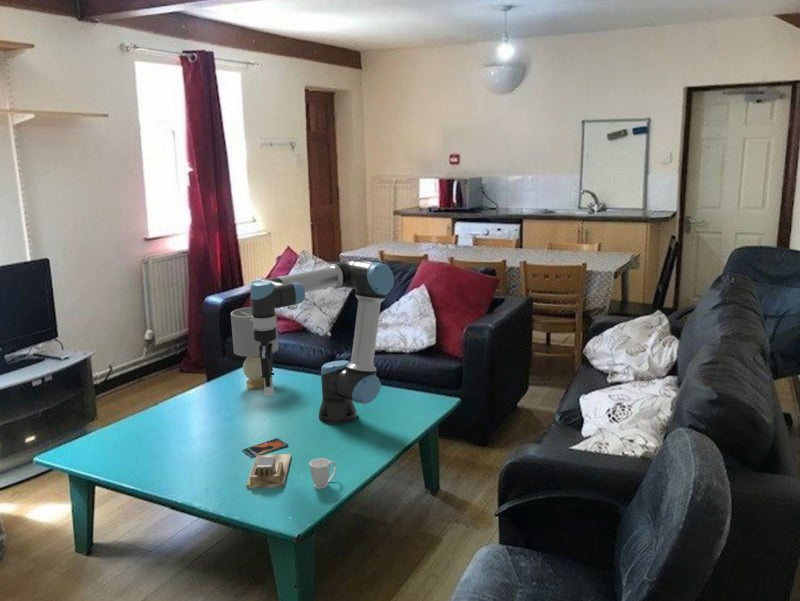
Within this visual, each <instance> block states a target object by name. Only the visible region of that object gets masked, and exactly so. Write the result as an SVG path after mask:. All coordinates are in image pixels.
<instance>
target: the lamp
mask: <svg viewBox="0 0 800 601" xmlns="http://www.w3.org/2000/svg"><path fill="white" fill-rule="evenodd" d="M277 315H278V314H277V308H276V309H275V317H276V327H275V328H276V336H277V338H276V339H275V340H273V341H271V343H272V346H273V347H272V354H275V353H276V352H277V351H279V337H278V336H279V335H278V334H279V331H278V317H277ZM251 319H253V316H252V306H248V307H241V308H237V309H234V310H232V311H231V312H230V321H231V323H230V324H231V333H232V345H233V347H232V348H233V353H234V354H235V355H236V356H239V357H246V358H245V360H244V362H243V364H242V371H243V375H244V376H245V378H247V380H246V388H247V389H248V390H250V391H262V390H264V378H261V376H262V368H261V359H260V355H259V354H260V351H259V346H260V344H261V342H257V341H255V340H254V332H253V330H254V329H255V328H253V322H252V321H251Z"/></svg>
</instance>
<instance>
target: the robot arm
mask: <svg viewBox="0 0 800 601" xmlns="http://www.w3.org/2000/svg"><path fill="white" fill-rule="evenodd" d="M394 284H395V278H394V273H393V271H392V269H391V268H390V267H389V266H388V265H387V264H384V263H381V262H378V261H370V260H363V259H349V260H346V261H341V262H336V263H332V264H330V265H329V266H328V267H325V268H318V269H314V270H309V271H304V272H303V271H302V272H298V273H293V274H287V275H283V276H276V277H272V278H264V277H261V278H260V277H259V278H256V279H254V280H253V281H252V283H251V284H250V302H251V307H252V316H253V319H251V321H252V322H253V328H255V329H254V330H253V332H254V340H255V341H257V342H261V344H260V346H259V351H260V354H259V355H260V359H261V368H262V376H261V378H264V389H263V390H264V396H273V395H274V387H273V386H274V385H273V383H274V382H273V376H275V372H273V370H274V369H273V353H272V347H273V346H272V343H271V341H273V340H275V339H276V338H277V336H276V328H275V327H276V317H275V309H276V310H277V309H281V308H285V307H291V306H296V305H299V304H301V303H303V302H304V300H305V299H306V293H309V292H315V291H319V290H324V289H328V288H333V289H335V290H336V289H341V288H344V289H345V288H347V289H353V290H355V292H354V296H355V297H356V299H357V301H358V302H357V310H356V317H355V327H354V334H353V335H354V336H353V342H352V343H353V344H352V352H351V358H350V361H349V360H342V359H341V360H333V361H330V362H325V363H324V364H323V365H322V366H321V370H320V377H321V378H320V381H321V393H322V402H321V404H320V408H319V410H318V411H319V412H318V418H319V421H320V422H321V423H324V424H328V425H344V424H347V423H351V422H353V421H355V420H356V419H357V416H358V415H357V409H356V406H355V404H361V405H362V404H363V405H367V404H369V403H371V402H373V401H374V400H375V399H376V398H377V397H378V396H379V393H380V390H381V388H382V385H381V384H382V382H381V381H380V378H379V377H378V376H377V367H376V366H375V365H374V360H375V353H376V345H377V344H376V342H377V336H378V328H379V322H380V321H379V320H380V313H381V303H382V302H383V301H385V300H386V296H387V294H389V293H390V292H391V290H392V289H393V288H394Z"/></svg>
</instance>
